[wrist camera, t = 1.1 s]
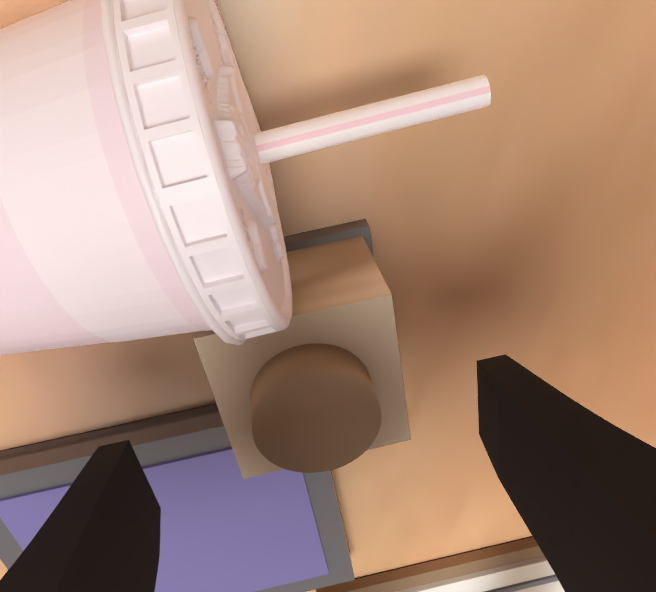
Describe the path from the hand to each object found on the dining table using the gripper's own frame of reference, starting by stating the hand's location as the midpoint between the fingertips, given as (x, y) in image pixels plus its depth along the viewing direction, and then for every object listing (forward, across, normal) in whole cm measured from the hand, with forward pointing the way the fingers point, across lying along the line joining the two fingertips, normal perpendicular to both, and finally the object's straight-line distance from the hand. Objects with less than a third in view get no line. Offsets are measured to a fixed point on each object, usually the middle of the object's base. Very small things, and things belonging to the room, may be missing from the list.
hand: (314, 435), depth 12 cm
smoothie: (+2, +10, -5) cm, 11 cm away
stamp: (+4, 0, 0) cm, 4 cm away
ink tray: (+4, +5, +6) cm, 9 cm away
